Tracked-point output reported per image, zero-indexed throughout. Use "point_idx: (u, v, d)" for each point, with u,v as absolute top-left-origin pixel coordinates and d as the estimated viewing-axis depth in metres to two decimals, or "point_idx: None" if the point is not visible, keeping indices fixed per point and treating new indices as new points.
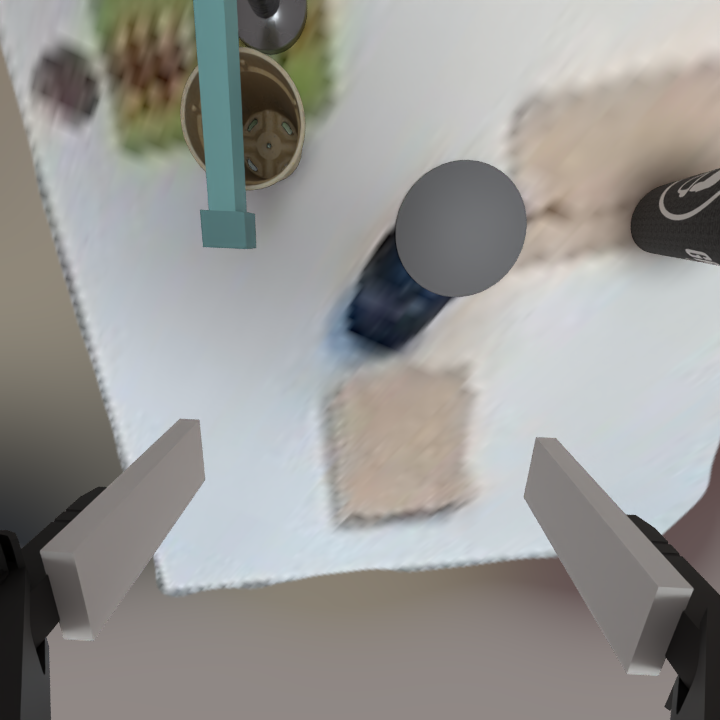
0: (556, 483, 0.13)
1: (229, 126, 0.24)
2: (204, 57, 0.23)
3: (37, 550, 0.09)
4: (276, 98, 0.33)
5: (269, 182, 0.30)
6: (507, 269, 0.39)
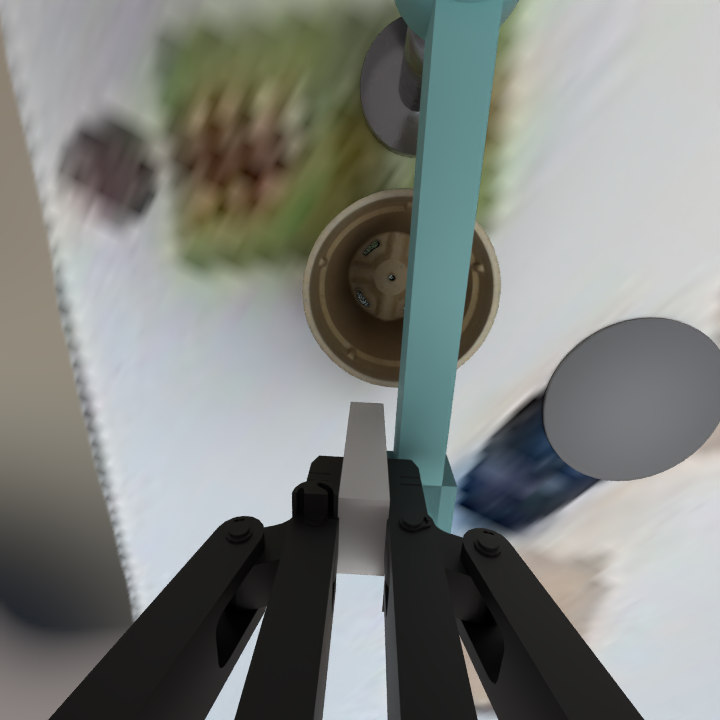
0: None
1: (454, 366, 0.14)
2: (427, 259, 0.12)
3: None
4: None
5: None
6: (687, 454, 0.29)
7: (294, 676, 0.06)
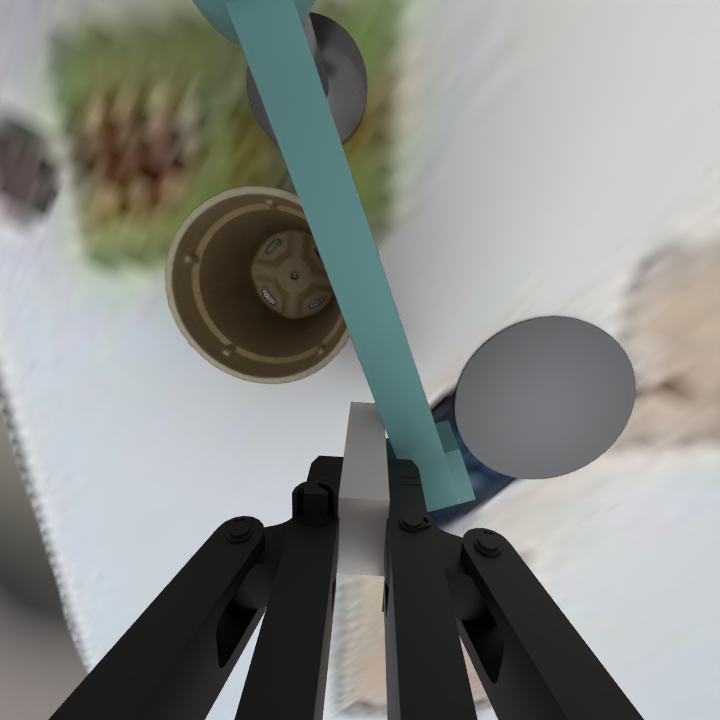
0: None
1: (402, 333, 0.13)
2: (329, 244, 0.12)
3: None
4: None
5: (295, 376, 0.20)
6: (599, 453, 0.29)
7: (294, 676, 0.06)
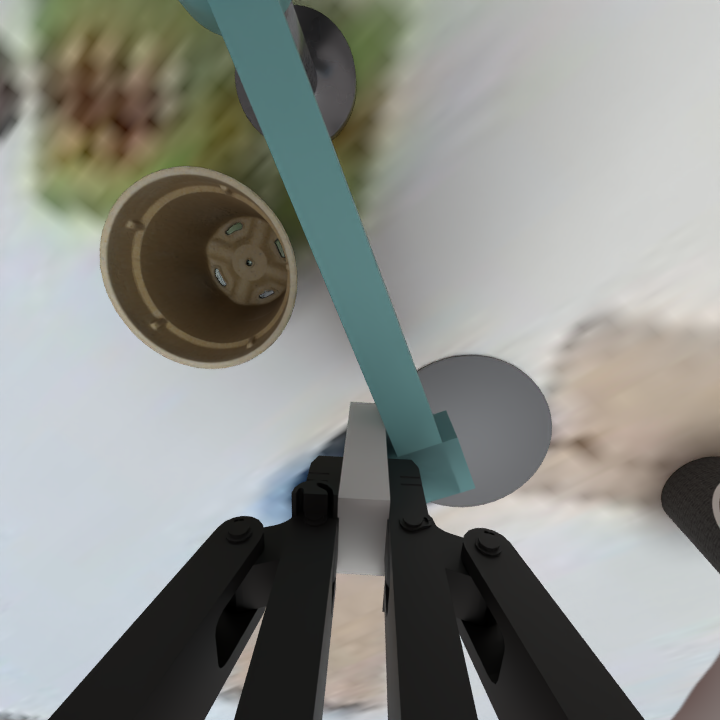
0: None
1: (395, 323, 0.13)
2: (319, 234, 0.12)
3: None
4: None
5: (218, 364, 0.20)
6: (507, 492, 0.31)
7: (294, 676, 0.06)
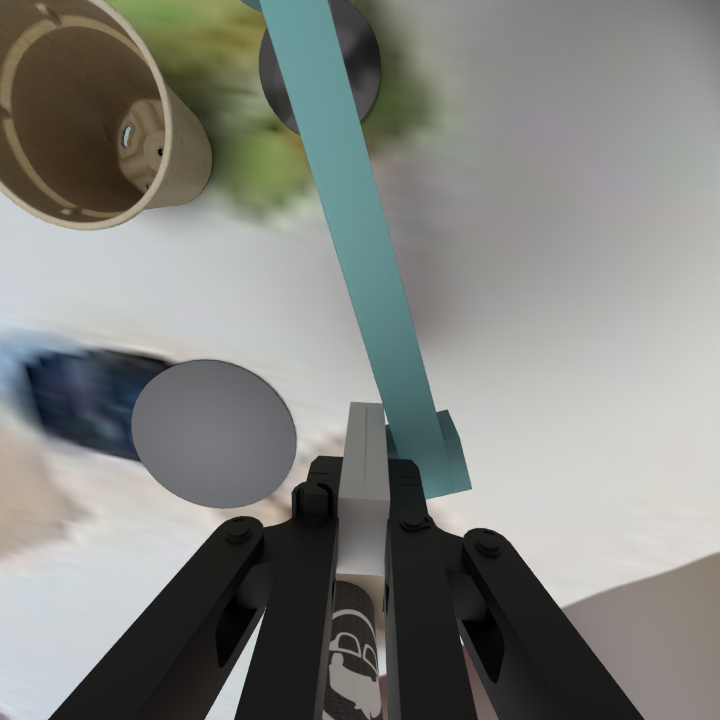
0: None
1: (408, 315, 0.13)
2: (340, 219, 0.12)
3: None
4: None
5: (15, 198, 0.17)
6: (208, 504, 0.32)
7: (294, 676, 0.06)
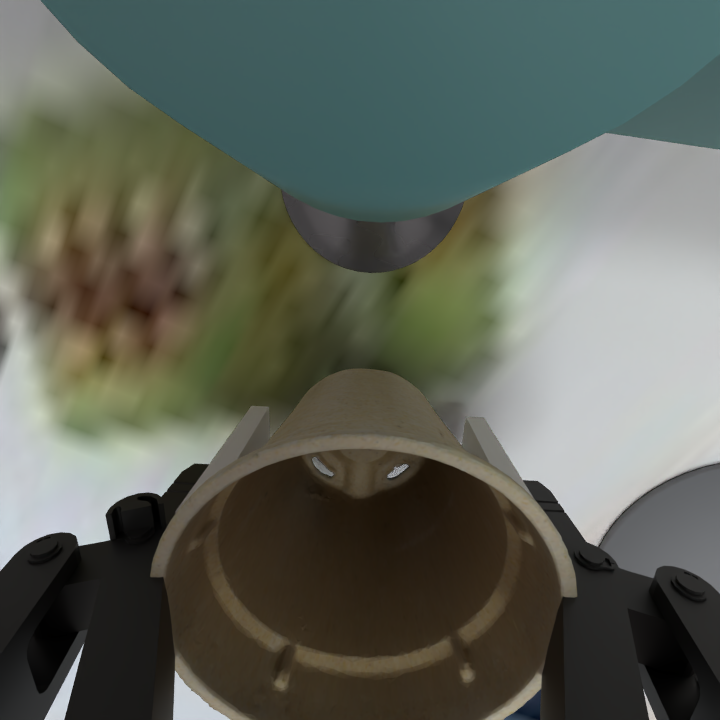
0: (476, 455, 0.14)
1: None
2: None
3: None
4: None
5: None
6: None
7: (126, 698, 0.06)
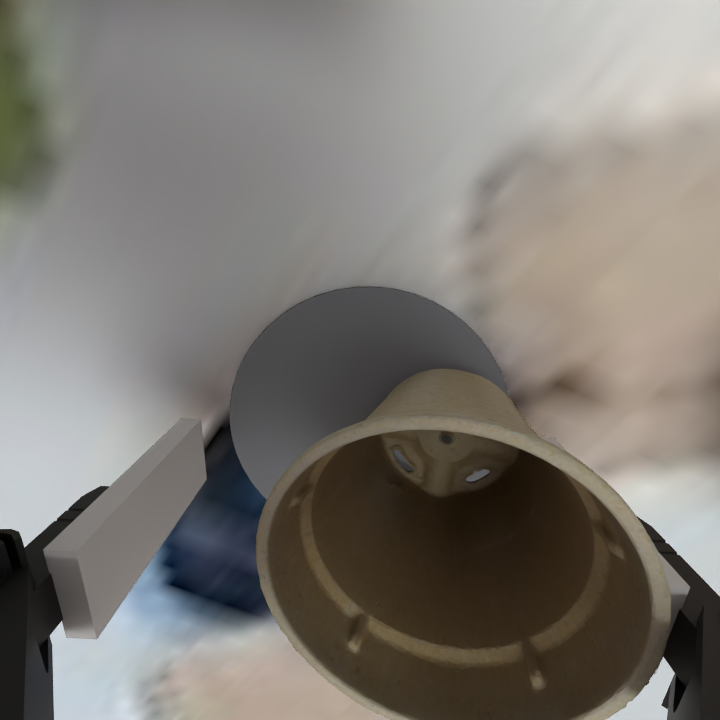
0: None
1: None
2: None
3: (40, 549, 0.09)
4: None
5: None
6: None
7: None
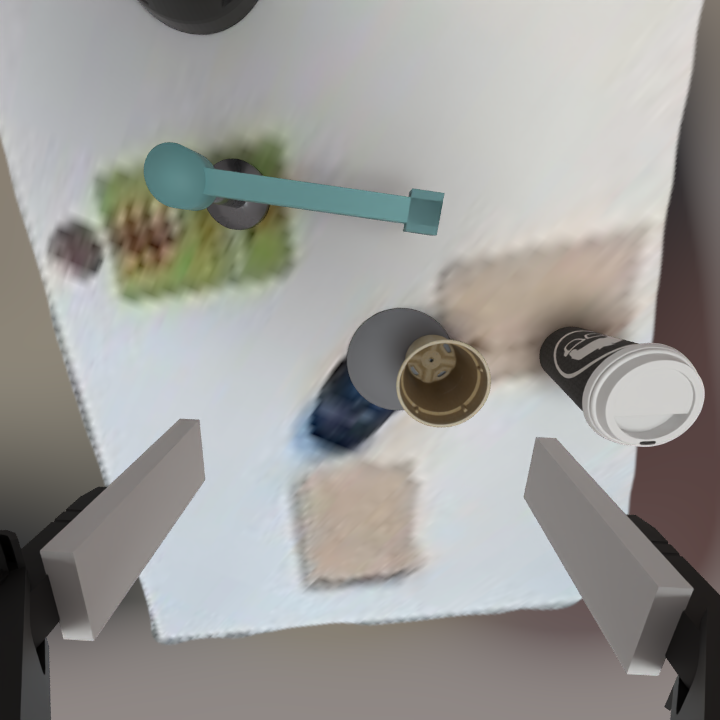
0: (556, 483, 0.13)
1: (344, 188, 0.28)
2: (294, 200, 0.29)
3: (38, 550, 0.09)
4: None
5: (455, 423, 0.39)
6: None
7: None
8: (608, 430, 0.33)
